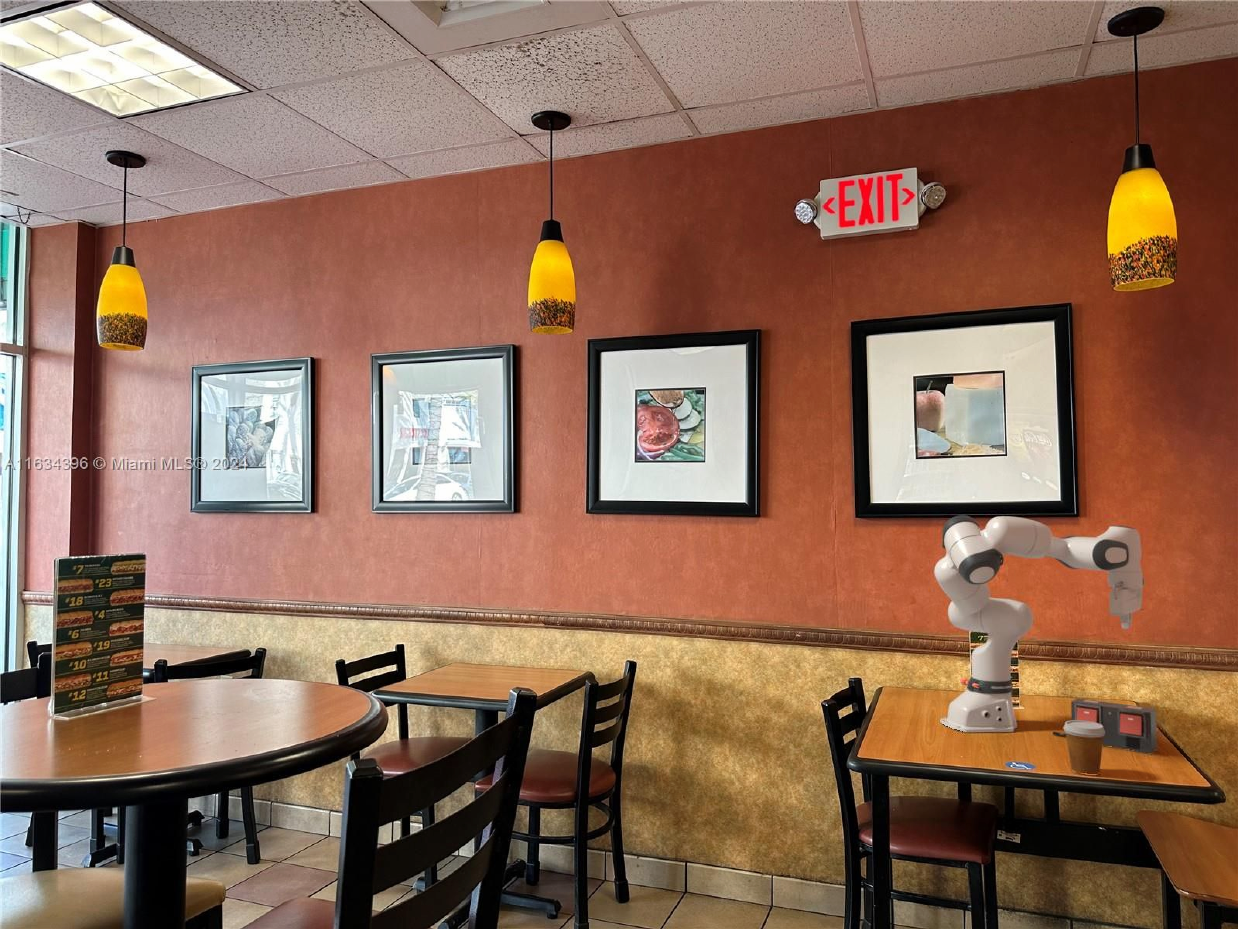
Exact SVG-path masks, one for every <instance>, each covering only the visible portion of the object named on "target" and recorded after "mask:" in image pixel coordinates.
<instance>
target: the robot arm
mask: <svg viewBox="0 0 1238 929" xmlns="http://www.w3.org/2000/svg"><path fill="white" fill-rule="evenodd" d="M941 531H942V532H941V534H942V543H941V544H942V546H941V547H942V548H943V549H945V552H946V554H945V556H944V557H942V558H940V559H939V560H938V562H937V563H936V564H935V566H934V571H933V573H934V577H935V579H936V581H937V583H938V585H939V586H940V588H941V589H942V591H943V592H944V594H945V595H946V596H947V598H949V599H950V600H951V601H950V603H949V605H948V609H947V615H948V619H949V622H950V623H951V625H952V626H954V627H955V628H958V629H961V630H965V631H968V632H977V633H983V634H984V633H985V634H987V640H986V642H985V643H984V644H981V645H978V646H977V647H975V648H974V650H972V653H971V656H970V658H971V676H970V678H969V680H968V679H966V678H965V677H962V678H960V679H959V683H960V684H961V685H963V686H966V690H965V691H963V692H962V693H961V694H960V695H958V696H957V697H956V698H954V700H952V701H951V702H950V703H949V706H948V710H947V717H943V718H940V719H939V721H940V722H941V723H942V724H944V725H945V726H944V725H943V726H944V727H946V726H948V727H947V728H949V727H950V728H949V729H951V728H952V729H951V730H954V729H957V730H960V731H959V732H962V731H963V733H1014V732H1015V729H1017V728H1018V723H1017V720H1016V717H1015V715H1016V714H1015V712H1014V705H1013V698H1012V695H1013V680H1012V679H1011V665H1012V664H1011V660H1012V653H1013V650H1014V647H1015V646H1016V643H1018V641H1019V640H1020V639H1021V638H1022V637H1023V636H1025V635H1026V634H1027V633H1029V632H1030V631H1031V629H1032V627H1033V624H1034V614H1033V612H1032V609H1031V607H1030V606H1029V605H1028V604H1027V603H1025V602H1022V601H1019V600H1014V599H1011V598H1010V599H1009V598H998V597H997V598H996V597H991V591H990V587H989V585H988V584H987V583H989V582H990V581H992V579H994V577H995V576H996V575H997V574H998V573H999V571H1000V568H1001V566H1002V565H1003V564H1004V562H1005V561H1004V559H1005V558H1004V556H1003V555H1011V556H1014V557H1019V558H1025V559H1043V558H1044V557H1047V558H1050V559H1051V558H1052V559H1055V560H1057V561H1058V562H1059V563H1061V564H1062V565H1064V566H1065V567H1066V568H1068V569H1072V570H1089V571H1099V572H1100V571H1101V572H1106V571H1107V572H1106V573H1107V586H1108V587H1109V588H1110V587H1111V589H1110V592H1109V613H1110V615H1111V616H1116V617H1118V616H1119V620H1120V623H1121V628H1122V630H1126V629H1130V628H1132V620H1133V613H1135V612H1137V611H1140V610H1141V608H1142V605H1143V604H1142V603H1143V586H1145V579H1144V577H1143V570H1142V566H1141V559H1142V544H1141V543H1142V542H1141V536H1140V534H1139V531H1138V530H1137V529H1136V528H1134V527H1131V526H1126V525H1125V526H1124V525H1123V526H1122V525H1110V526H1109V527H1108V528H1107V530H1106V531H1105V532H1103V533H1102V534H1100V535H1098V536H1096V537H1093V536H1079V535H1067V536H1064V537H1056V536H1054V535H1053V533H1052V531H1051V529H1050V527H1049V526H1047V525H1046V524H1044V523H1042V522H1039V521H1036V520H1033V519H1029V518H1025V517H1019V516H1018V517H1017V516H1007V515H1006V516H1004V515H1002V516H995V517H993V518H991V519H990V520H989V521H988V522H987V523H986V524H985V528H983V529H982V530H981V526H980V525H979V524H978V522H976V520H975V519H974V518H973V517H971V516H969V515H967V514H966V515H965V514H963V515H962V514H960V515H959V514H958V515H955V516H953V517H951V518H949V519H948V520H947V521H946V522H945V523H944V524H943V527H942V530H941ZM940 722H939V723H940ZM941 723H940V724H941ZM942 724H941V725H942ZM957 730H956V731H957Z"/></svg>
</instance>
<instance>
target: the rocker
mask: <svg viewBox="0 0 1238 929" xmlns="http://www.w3.org/2000/svg"><path fill="white" fill-rule="evenodd" d="M1097 718H1098V710H1093V709H1086V708H1079V707H1077V720H1081V721H1090V722H1095V723H1097Z"/></svg>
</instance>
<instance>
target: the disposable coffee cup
mask: <svg viewBox="0 0 1238 929" xmlns="http://www.w3.org/2000/svg"><path fill="white" fill-rule="evenodd" d="M1062 728H1063V730H1064V733H1065V734H1066V737H1065V738H1066V744H1067V750H1068V756H1069V762H1070V769H1071V771H1072V770H1074V771H1076V772H1079V773H1087V774H1098V773H1099V774H1100V772H1101V762H1102V755H1103V746H1102V745H1103V736H1104V734H1105V730H1104V728H1103V725H1101V724H1098V723H1095V722H1090V721H1081V720H1072V719H1071V720H1067V721H1065V723H1064V726H1062Z"/></svg>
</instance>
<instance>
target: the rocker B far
mask: <svg viewBox="0 0 1238 929" xmlns="http://www.w3.org/2000/svg"><path fill="white" fill-rule="evenodd" d="M1120 732H1122V733H1128V734H1135V735H1141V736H1142V717H1141V716H1134V715H1127V714H1120Z"/></svg>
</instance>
